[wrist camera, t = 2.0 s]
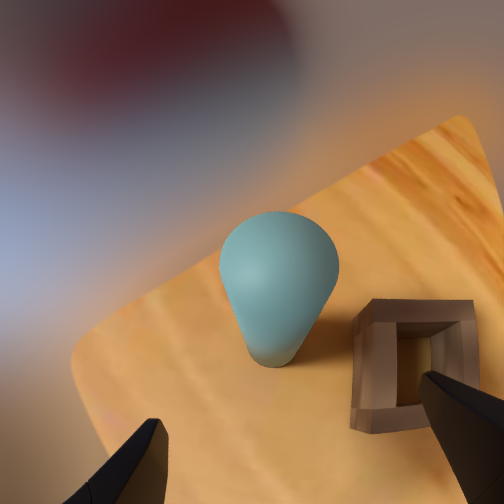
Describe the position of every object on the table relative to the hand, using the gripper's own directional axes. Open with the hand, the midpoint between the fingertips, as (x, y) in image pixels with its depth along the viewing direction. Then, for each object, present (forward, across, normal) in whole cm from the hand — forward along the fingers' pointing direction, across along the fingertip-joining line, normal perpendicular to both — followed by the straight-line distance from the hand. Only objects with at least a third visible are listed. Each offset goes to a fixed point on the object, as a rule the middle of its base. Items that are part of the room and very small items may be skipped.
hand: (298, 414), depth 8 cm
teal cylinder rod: (+11, 0, +5) cm, 12 cm away
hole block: (+8, -9, +8) cm, 14 cm away
